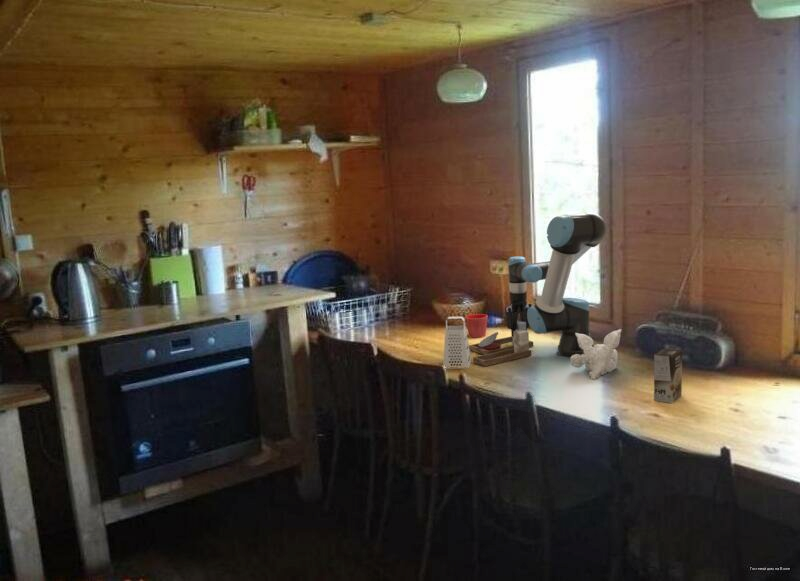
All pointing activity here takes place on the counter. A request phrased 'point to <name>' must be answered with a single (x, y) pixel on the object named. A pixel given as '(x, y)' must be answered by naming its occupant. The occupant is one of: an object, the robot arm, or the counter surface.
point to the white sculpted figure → (597, 354)
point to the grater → (456, 345)
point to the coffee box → (667, 375)
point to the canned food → (490, 343)
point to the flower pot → (476, 325)
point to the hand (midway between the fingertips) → (519, 342)
